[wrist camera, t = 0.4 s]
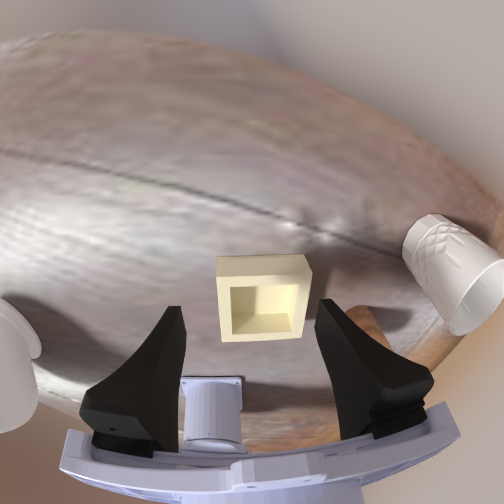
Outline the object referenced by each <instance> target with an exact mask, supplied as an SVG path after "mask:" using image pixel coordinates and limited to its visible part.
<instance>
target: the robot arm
mask: <svg viewBox="0 0 504 504" xmlns="http://www.w3.org/2000/svg"><path fill="white" fill-rule="evenodd" d="M314 328H315V332H316V337H317V342H318V345H319V348H320V351H321V354H322V356H323V359H324V362H325V365H326V367H327V370H328V373H329V376H330V379H331V383H332V387H333V392H334V396H335V402H336V407H337V413H338V420H339V427H340V436H341V441H338V442H334V443H329V444H324V445H319V446H313V447H307V448H301V449H294V450H286V451H277V452H267V453H254V454H252V452H251V451H246V446H245V444H242V436H241V420H240V410H242V409H243V408H242V381H241V378H240V377H181V374H182V368H183V362H184V357H185V351H186V334H187V333H186V329H185V325H184V320H183V316H182V311H181V306H169V307H168V308H167V309H166V311H165V312H164V314H163V316H162V317H161V319H160V320H159V322H158V323H157V325H156V326H155V328H154V329H153V330H152V332H151V333H150V335H149V336H148V337H147V338H146V340H145V341H144V342H143V344H142V345H141V346H140V347H139V348H138V350H137V351H136V352H135V353H134V354H133V355H132V356H131V357H130V358H129V359H128V360H127V361H126V362H125V363H124V364H123V365H122V366H121V367H120V368H118V369H117V370H116V371H115V372H114V373H112V374H111V375H110V376H108V377H107V378H106V379H104V380H103V381H101V382H100V383H98V384H97V385H95V386H93V387H92V388H90V389H88V390H87V391H86V393H85V395H84V398H83V401H82V405H81V408H80V411H79V414H80V417H81V418H82V419H83V420H84V421H85V422H86V423H87V424H88V425H89V426H90V427H91V428H92V429H93V430H94V434H93V436H92V435H90V434H88V433H84V432H81V431H77V430H74V429H69V430H68V433H67V438H66V441H65V445H64V449H63V453H62V458H61V463H60V467H59V468H60V470H62V471H64V472H65V473H67V474H69V475H71V476H72V477H74V478H76V479H78V480H80V481H82V482H84V483H86V484H90V485H93V486H96V487H99V488H103V489H106V490H110V491H113V492H117V493H121V494H125V495H129V496H133V497H137V498H142V499H147V500H152V501H158V502H163V503H170V504H365V503H364V499H363V495H362V491H361V487H362V486H365V485H368V484H370V483H373V482H376V481H379V480H381V479H384V478H386V477H389V476H391V475H394V474H396V473H398V472H401V471H403V470H405V469H407V468H410V467H412V466H414V465H416V464H418V463H420V462H422V461H424V460H427V459H429V458H430V457H433V456H435V455H436V454H438V453H439V452H441V451H442V450H444V449H445V448H446V447H448V446H449V445H450V444H452V443H453V442H454V441H456V440H457V439H458V438H460V437H461V434H460V432H459V429H458V427H457V425H456V423H455V421H454V419H453V417H452V415H451V412H450V410H449V408H448V406H447V404H446V402H441V403H439V404H437V405H434V406H432V407H430V408H428V409H427V410H424V408H423V406H424V405H425V402H424V400H423V398H424V397H425V396H426V395H427V393H428V392H429V391H430V390H431V388H432V387H433V384H434V379H433V377H432V375H431V373H430V371H429V370H428V368H427V367H425V366H423V365H420V364H417V363H415V362H412V361H410V360H408V359H406V358H404V357H402V356H400V355H398V354H396V353H394V352H393V351H391V350H389V349H388V348H386V347H384V346H383V345H381V344H380V343H379V342H377V341H376V340H375V339H373V338H372V337H371V336H369V335H368V334H367V333H366V332H365V331H363V330H362V329H361V328H360V327H359V326H358V325H357V324H356V323H355V322H353V321H352V320H351V319H350V318H349V317H348V316H347V315H346V314H345V313H344V312H343V311H342V310H341V309H340V308H339V306H338V305H337V304H336V303H335V302H334V301H333V300H332V299H320V301H319V307H318V312H317V317H316V322H315V326H314ZM180 383H181V386H182V388H183V391H184V394H185V397H186V408H185V422H184V439H183V441H182V449H181V447H179V445H178V397H179V386H180Z"/></svg>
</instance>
